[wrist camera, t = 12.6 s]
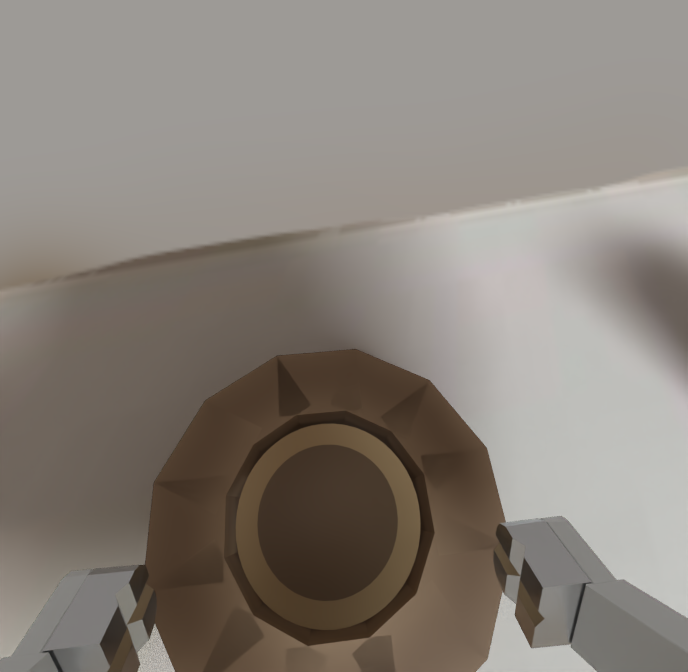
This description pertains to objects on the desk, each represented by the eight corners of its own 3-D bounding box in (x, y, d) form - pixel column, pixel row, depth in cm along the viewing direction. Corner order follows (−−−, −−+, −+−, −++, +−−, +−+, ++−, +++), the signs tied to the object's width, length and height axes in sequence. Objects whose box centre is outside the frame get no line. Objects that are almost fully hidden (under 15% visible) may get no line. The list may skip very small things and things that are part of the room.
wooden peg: (369, 464, 16) (413, 404, 7) (380, 559, 15) (453, 633, 6) (286, 472, 16) (226, 421, 7) (289, 569, 15) (215, 664, 5)
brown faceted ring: (440, 365, 18) (459, 340, 16) (511, 679, 13) (557, 723, 11) (192, 387, 18) (166, 364, 15) (167, 730, 12) (120, 791, 10)
